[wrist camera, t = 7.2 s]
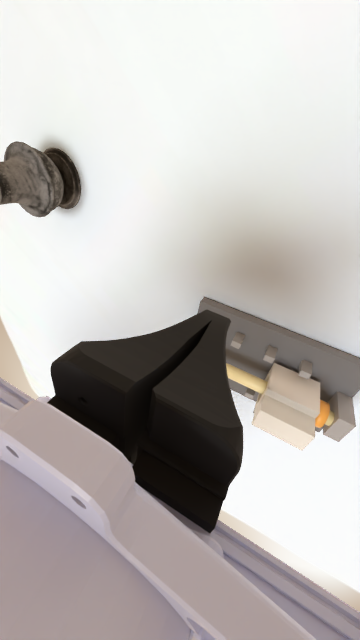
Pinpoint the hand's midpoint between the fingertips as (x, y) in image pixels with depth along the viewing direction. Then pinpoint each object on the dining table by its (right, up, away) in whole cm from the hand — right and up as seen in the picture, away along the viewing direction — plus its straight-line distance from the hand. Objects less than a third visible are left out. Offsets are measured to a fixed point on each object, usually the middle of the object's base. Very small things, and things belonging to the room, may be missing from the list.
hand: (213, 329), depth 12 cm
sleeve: (+8, -5, +10) cm, 14 cm away
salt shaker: (-14, +15, +12) cm, 24 cm away
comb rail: (+7, -4, +12) cm, 14 cm away
